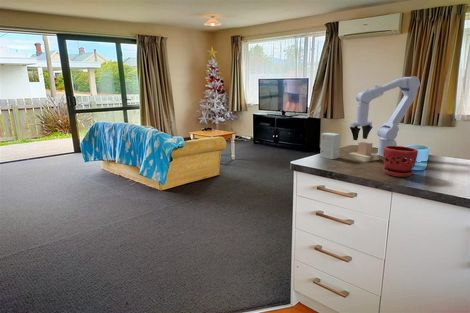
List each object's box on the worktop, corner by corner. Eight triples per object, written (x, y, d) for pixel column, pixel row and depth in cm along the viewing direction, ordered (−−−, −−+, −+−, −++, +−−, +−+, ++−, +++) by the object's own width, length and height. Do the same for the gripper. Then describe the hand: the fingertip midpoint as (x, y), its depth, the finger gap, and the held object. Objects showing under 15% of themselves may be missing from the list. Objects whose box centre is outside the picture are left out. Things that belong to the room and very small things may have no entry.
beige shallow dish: (362, 156, 173) (362, 151, 173) (379, 160, 164) (379, 154, 163) (348, 158, 168) (348, 153, 168) (365, 162, 159) (365, 157, 158)
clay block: (363, 152, 169) (364, 141, 167) (371, 154, 165) (372, 143, 163) (357, 153, 166) (358, 142, 165) (365, 155, 162) (366, 144, 161)
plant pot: (414, 180, 129) (418, 152, 126) (380, 175, 136) (383, 149, 133) (414, 172, 140) (417, 146, 138) (382, 168, 147) (385, 143, 144)
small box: (339, 157, 168) (341, 134, 165) (332, 159, 164) (334, 135, 161) (326, 155, 174) (328, 132, 171) (319, 156, 170) (321, 133, 167)
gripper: (365, 113, 173) (362, 137, 176) (347, 114, 166) (345, 139, 169) (376, 114, 167) (373, 139, 170) (357, 115, 160) (355, 141, 163)
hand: (360, 139), depth 169 cm, fingers open, 7 cm apart
